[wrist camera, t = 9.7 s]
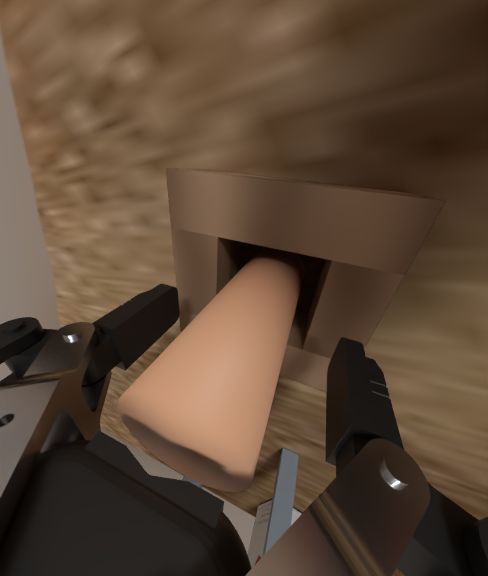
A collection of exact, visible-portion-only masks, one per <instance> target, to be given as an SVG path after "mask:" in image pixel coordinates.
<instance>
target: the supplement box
mask: <svg viewBox="0 0 488 576" xmlns="http://www.w3.org/2000/svg"><path fill="white" fill-rule="evenodd" d="M271 505H272V500H270V501H268V502H266V503H264V504H261V505H259V506H258V510H257V514H256V519H255V524H254V528H253V532H252V537H251V542H250V546H249V551H248V558H249V561H250V564H251V568H253V567H254V566H255V565H256V564H257V562H258V561H259V560H260V559H261V558H262V555H263V550H264V544H265V539H266V533H267V527H268V522H269V516H270V510H271ZM301 514H302V513H300V512H299V511H297V510H296V509H294V508H293V512H292V521H291V525H292V524H293V523H294V522H295V521H296V520H297V519H298V518H299V516H300V515H301Z"/></svg>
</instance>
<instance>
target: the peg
mask: <svg viewBox="0 0 488 576" xmlns="http://www.w3.org/2000/svg"><path fill="white" fill-rule="evenodd" d="M304 272H305V269H304V264H303V261H302V259H301V257H300V256H299V255H298V253H294V252H289V251H284V250H279V249H274V248H269V247H263V248H261V249H260V250H259V251H258V252H257V253H256V254H255V255H254V256H253V257H252V258H251V259H250V260H249V261H248V262H247V263H246V264H245V265H244V267H243V268H242V269H241V270H240V271H239V272H238V273H237V274H236V275H235V276H234V277H233V278H232V279H231V280H230V281H229V282H228V283H227V285H226V286H225V287H224V288H223V289H222V290H221V291H220V292H219V293H218V294H217V295H216V296H215V297H214V298H213V299H212V300H211V301H210V303H209V304H208V305H207V306H206V307H205V308H204V309H203V310H202V311H201V312H200V313H199V314H198V315H197V316H196V317H195V318H194V319H193V321H192V322H191V323H190V324H189V325H188V326H187V327H186V328H185V329H184V330H183V331H182V332H181V333H180V334H179V335H178V336H177V337H176V338H175V340H174V341H173V342H172V343H171V344H170V345H169V346H168V347H167V348H166V349H165V350H164V351H163V352H162V353H161V354H160V355H159V356H158V358H157V359H156V360H155V361H154V362H153V363H152V364H151V365H150V366H149V367H148V368H147V369H146V370H145V371H144V372H143V373H142V374H141V376H140V377H139V378H138V379H137V380H136V381H135V382H134V383H133V384H132V385H131V386H130V387H129V388H128V389H127V390H126V391H125V392H124V394H123V395H122V396H121V397H120V398H119V400H118V410H119V413H120V416H121V418H122V420H123V422H124V423H125V425H126V426H127V428H128V429H129V430H130V432H131V433H132V434H133V435H134V436H135V438H136V439H137V440H138V441H139V442H140V443H141V444H142V445H143V446H144V447H145V448H147V449H148V450H149V451H150V452H151V453H152V454H154V455H155V456H156V457H157V458H159V459H160V460H161V461H163V462H164V463H165V464H167V465H168V466H170V467H171V468H173V469H174V470H176V471H177V472H179V473H181V474H183V475H184V476H186V477H188V478H190V479H192V480H194V481H196V482H198V483H200V484H203V485H205V486H208V487H211V488H214V489H217V490H221V491H226V492H242V491H245V490H247V489H248V488H249V487H250V486H251V484H252V481H253V477H254V473H255V469H256V465H257V461H258V457H259V453H260V449H261V445H262V441H263V437H264V433H265V429H266V425H267V421H268V417H269V413H270V409H271V405H272V401H273V397H274V393H275V389H276V385H277V381H278V377H279V373H280V369H281V365H282V361H283V357H284V354H285V350H286V346H287V342H288V338H289V334H290V330H291V326H292V322H293V318H294V314H295V310H296V306H297V302H298V298H299V294H300V290H301V286H302V282H303V278H304Z"/></svg>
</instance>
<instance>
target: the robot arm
mask: <svg viewBox="0 0 488 576" xmlns="http://www.w3.org/2000/svg"><path fill="white" fill-rule="evenodd" d="M179 314H180V310H179V299H178V290H177V288H175V287H172V286H169V285H165V284H160V285H158V286H156V287H155V288H153V289H152V290H149V291H146V292H144V293H141V294H139V295H137V296H135V297H134V298H132V299H131V300H130V301H127V302H126V303H124V304H123V305H121V306H119V307H118V308H116V309H114V310H113V311H111V312H110V313H108V314H106V315H105V316H103V317H102V318H100V319H98V320H97V321H95V322H94V323H92V324H91V323H89V322H76V323H72V324H68V325H66V326H64V327H62V328H60V329H58V330H52V329H42V327H41V325H40V323H39V321H38V320H37V319H35V318H31V317H25V318H18V319H14V320H11V321H8V322H5V323H3V324H1V325H0V364H1V363H3V362H5V363H6V365H7V366H8V367H9V369H10V370H11V371H12V374H11V375H9V376H7V377H6V378H4V379H3V380H1V381H0V576H392V574H393V572H394V570H395V568H396V567H397V568H398V569H399V570H400V571H402V572H403V573H404V574H405V575H406V576H488V517H486V518H484V519H481V520H478V519H476V518H475V517H473V516H472V515H471V514H469V513H468V512H466V511H465V510H464V509H462V508H461V507H460V506H458V505H457V504H455V503H454V502H453V501H451V500H450V499H448V498H447V497H446V496H444V495H443V494H442V493H440V492H439V491H438V490H436V489H435V488H434V487H433V486H431V485H430V484H429V483H428V482H427V480H426V478H425V476H424V474H423V472H422V470H421V469H420V467H419V466H418V464H417V463H416V462H415V461H414V460H413V458H412V457H411V456H410V455H409V454H408V453H407V452H406V451H405V450H404V448H403V445H402V441H401V437H400V434H399V430H398V426H397V423H396V419H395V415H394V411H393V408H392V404H391V400H390V399H389V393H388V389H387V388H386V382H385V378H384V374H383V372H382V370H381V369H380V367H379V366H378V365H377V363H376V362H375V360H373V359H370V358H367V357H365V352H364V347H363V344H362V343H361V342H358V341H355V340H351V339H348V338H345V337H341V338H340V340H339V342H338V345H337V347H336V349H335V351H334V353H333V356H332V358H331V360H330V363H329V366H328V370H327V401H326V462H328V463H330V464H332V465H335V466H336V478H335V479H334V480H333V481H332V482H331V483H330V485H329V486H328V487H327V488H326V489H325V490H324V491H323V492H322V493H321V494H320V495H319V496H318V497H317V498H316V499H315V500H314V501H313V502H312V503H311V504H310V506H309V507H308V508H307V509H306V510H305V511H304V512H303V513H302V514H301V515H300V516H299V518H298V519H297V520H296V521H295V522H294V523H293V524H292V525H291V526H290V527H289V529H288V530H287V531H286V532H285V533H284V534H283V535H282V536H281V537H280V538H279V539H278V541H277V542H276V543H275V544H274V545H273V546H272V547H271V548H270V549H269V550H268V551H267V553H266V554H265V555H264V556H263V557H262V558H261V559H260V560H259V561H258V562H257V564H256V565H255V566H254V567H253V568H251V564H250V561H249V558H248V555H247V553H246V550H245V547H244V545H243V542H242V541H241V539H240V536H239V535H238V533H237V531H236V529H235V528H234V526H233V525H232V523H231V522H230V520H229V519H228V518H227V517H226V516H225V514H224V513H223V505H224V501H222V500H220V499H219V498H217V497H215V496H213V495H212V494H210V493H208V492H206V491H205V490H203V489H201V488H199V487H198V486H196V485H194V484H192V483H191V482H189V481H182V480H176V479H170V478H163V477H157V476H151V475H149V474H147V472H146V471H145V470H144V469H143V467H142V466H141V465H140V463H139V462H138V461H137V460H136V458H135V457H134V456H133V454H132V453H131V452H130V451H129V449H128V448H127V446H125V445H124V444H122V443H120V442H118V441H116V440H115V439H113V438H111V437H109V436H108V435H106V434H104V433H102V432H101V428H100V417H101V412H102V409H103V405H104V401H105V398H106V394H107V390H108V387H109V383H110V379H111V375H112V372H111V370H112V369H113V368H114V367H115V366H117V367H119V368H121V369H123V370H126V369H127V368H128V367H130V366H131V365H132V364H133V363H134V362H135V361H136V360H137V359H138V358H139V357H140V356H141V355H142V354H143V353H144V352H145V351H146V350H147V349H148V348H149V347H150V346H152V345H153V344H154V343H155V342H156V341H157V340H158V339H159V338H160V337H161V336H162V335H163V334H164V333H165V332H166V331H167V330H168V329H169V328H170V327H171V326H172V325H174V324H175V322H176V321H177V320H178V317H179Z"/></svg>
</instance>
